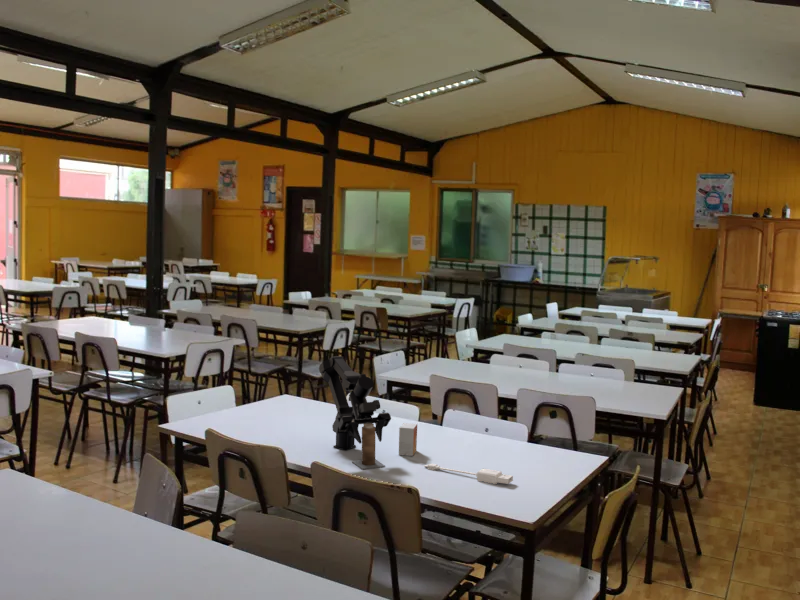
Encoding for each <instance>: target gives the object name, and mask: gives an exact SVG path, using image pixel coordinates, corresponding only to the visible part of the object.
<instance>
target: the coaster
mask: <svg viewBox="0 0 800 600" xmlns="http://www.w3.org/2000/svg"><path fill="white" fill-rule="evenodd" d="M351 462H352V464H353V465H355V466H357V468H359V469H360V470H362V469H363V470H370V469H371V470H372V469H379V468H380V467H381V468H386V465H384V464H383V463H382V462H381V461H379V460H378V459H376V458H375V464H374V465H363V464H362V459H361V460H353V461H351Z"/></svg>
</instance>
